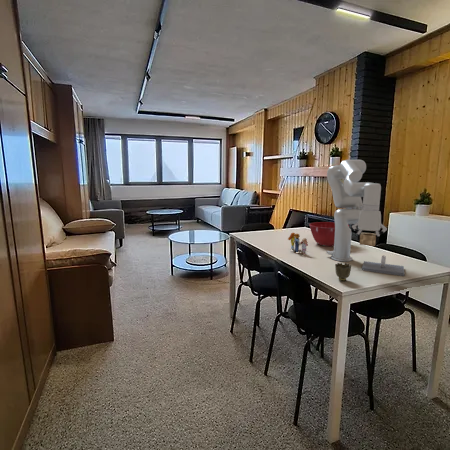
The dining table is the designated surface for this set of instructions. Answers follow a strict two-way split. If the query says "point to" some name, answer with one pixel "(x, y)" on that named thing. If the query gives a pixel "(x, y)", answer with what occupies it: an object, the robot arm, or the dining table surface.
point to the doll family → (295, 239)
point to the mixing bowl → (323, 232)
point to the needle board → (383, 267)
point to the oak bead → (368, 239)
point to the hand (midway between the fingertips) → (367, 242)
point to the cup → (342, 271)
